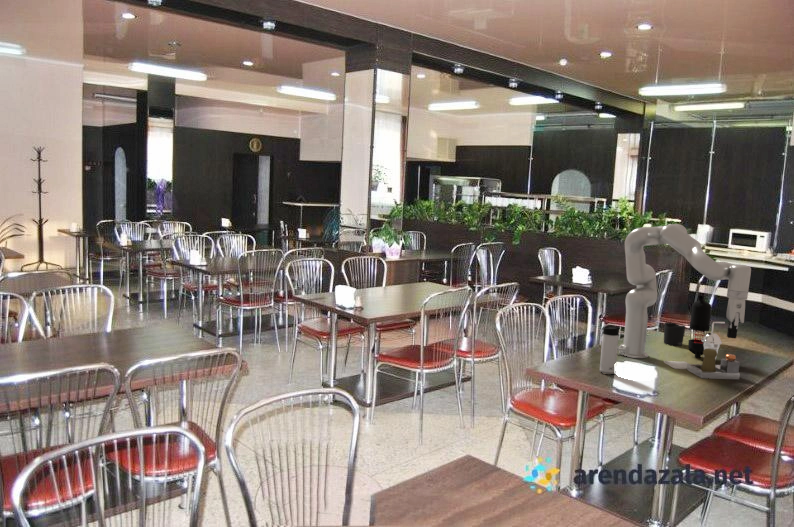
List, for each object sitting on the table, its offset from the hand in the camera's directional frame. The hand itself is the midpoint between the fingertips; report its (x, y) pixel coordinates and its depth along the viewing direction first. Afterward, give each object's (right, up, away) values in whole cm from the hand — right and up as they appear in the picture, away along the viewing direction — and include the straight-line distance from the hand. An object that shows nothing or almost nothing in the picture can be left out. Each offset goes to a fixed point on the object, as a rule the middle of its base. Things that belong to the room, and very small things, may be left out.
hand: (731, 337), depth 253 cm
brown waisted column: (-8, -16, +4) cm, 19 cm away
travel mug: (-52, -15, 0) cm, 54 cm away
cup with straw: (+2, -14, +22) cm, 27 cm away
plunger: (0, -13, +1) cm, 13 cm away
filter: (+2, -13, +32) cm, 35 cm away
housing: (-6, -16, +4) cm, 18 cm away
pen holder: (+1, -10, +56) cm, 57 cm away
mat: (-14, -14, +16) cm, 26 cm away
